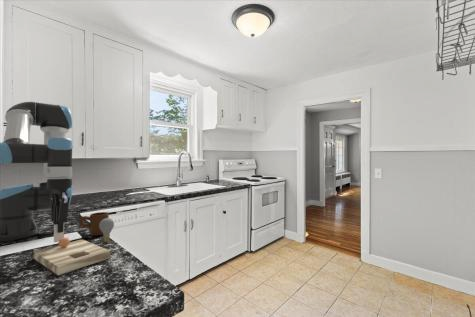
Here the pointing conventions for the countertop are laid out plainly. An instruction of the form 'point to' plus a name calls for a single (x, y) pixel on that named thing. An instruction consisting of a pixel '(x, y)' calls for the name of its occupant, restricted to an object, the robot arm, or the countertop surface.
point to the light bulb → (106, 228)
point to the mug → (94, 222)
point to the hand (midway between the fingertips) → (58, 240)
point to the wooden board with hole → (71, 256)
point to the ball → (64, 242)
